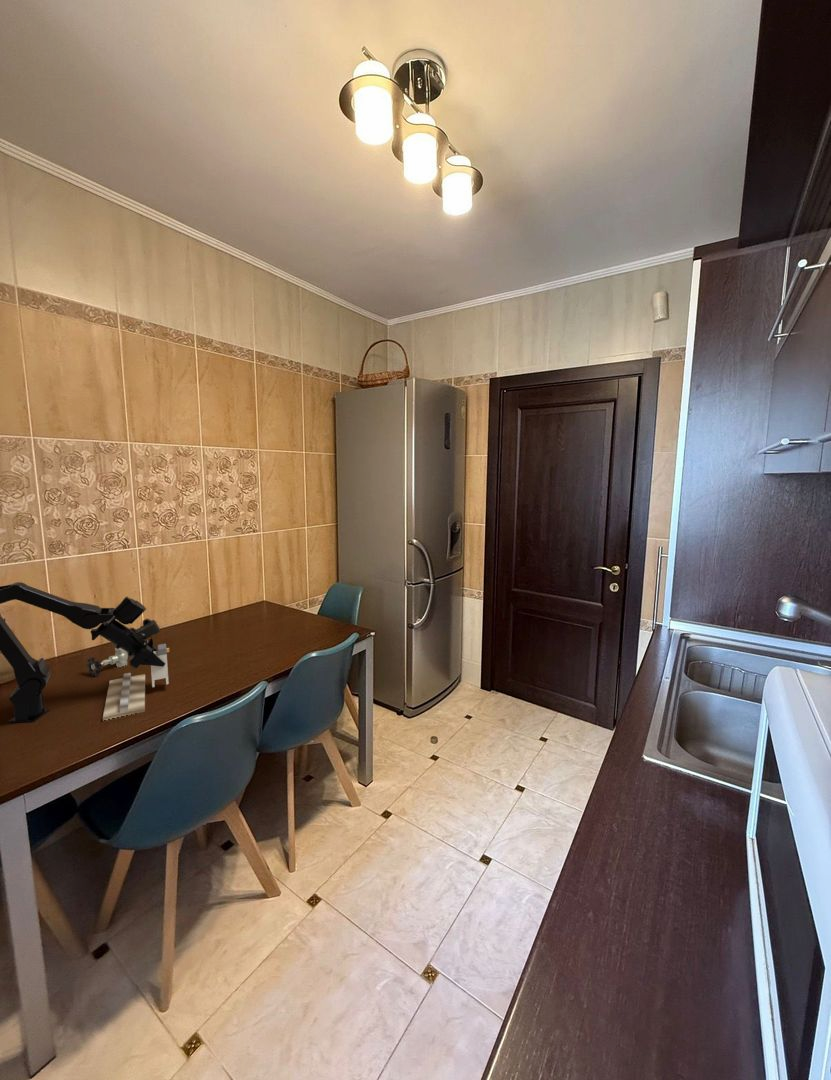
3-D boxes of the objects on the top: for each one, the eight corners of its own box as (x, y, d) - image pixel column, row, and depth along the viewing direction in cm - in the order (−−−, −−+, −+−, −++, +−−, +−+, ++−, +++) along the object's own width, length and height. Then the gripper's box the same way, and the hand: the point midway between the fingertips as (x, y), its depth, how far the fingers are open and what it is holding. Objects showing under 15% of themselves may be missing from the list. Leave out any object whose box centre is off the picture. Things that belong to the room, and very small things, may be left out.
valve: (121, 661, 163) (86, 674, 152) (120, 644, 162) (85, 656, 151) (133, 664, 160) (98, 678, 149) (132, 647, 159) (96, 660, 148)
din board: (144, 711, 129) (144, 702, 128) (103, 721, 124) (102, 711, 123) (145, 676, 151) (144, 668, 150) (110, 683, 146) (109, 675, 145)
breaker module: (171, 683, 141) (169, 647, 140) (152, 687, 138) (149, 650, 137) (170, 677, 145) (168, 643, 143) (152, 681, 142) (149, 646, 141)
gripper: (140, 623, 128) (185, 652, 136) (141, 606, 144) (181, 633, 151) (110, 654, 125) (157, 682, 133) (114, 633, 141) (156, 659, 148)
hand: (164, 662), depth 141 cm, fingers closed on breaker module, 4 cm apart
